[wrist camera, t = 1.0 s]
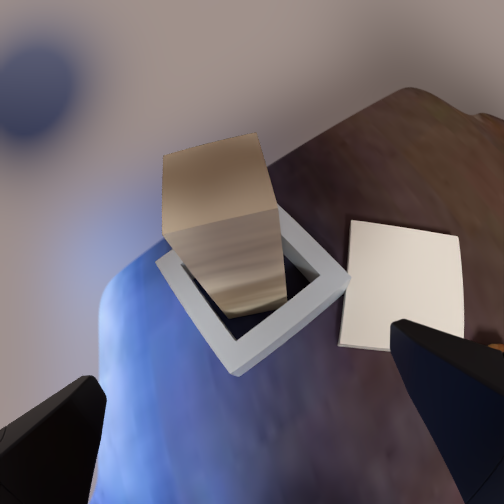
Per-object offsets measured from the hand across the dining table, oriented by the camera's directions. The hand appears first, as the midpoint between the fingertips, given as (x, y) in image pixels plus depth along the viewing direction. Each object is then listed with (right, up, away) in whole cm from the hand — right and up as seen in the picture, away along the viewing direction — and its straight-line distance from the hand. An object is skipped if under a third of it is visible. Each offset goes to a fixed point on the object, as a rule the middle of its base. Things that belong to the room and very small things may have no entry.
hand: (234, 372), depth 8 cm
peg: (+1, +1, +15) cm, 15 cm away
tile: (+12, 0, +13) cm, 18 cm away
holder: (+1, +1, +15) cm, 15 cm away
